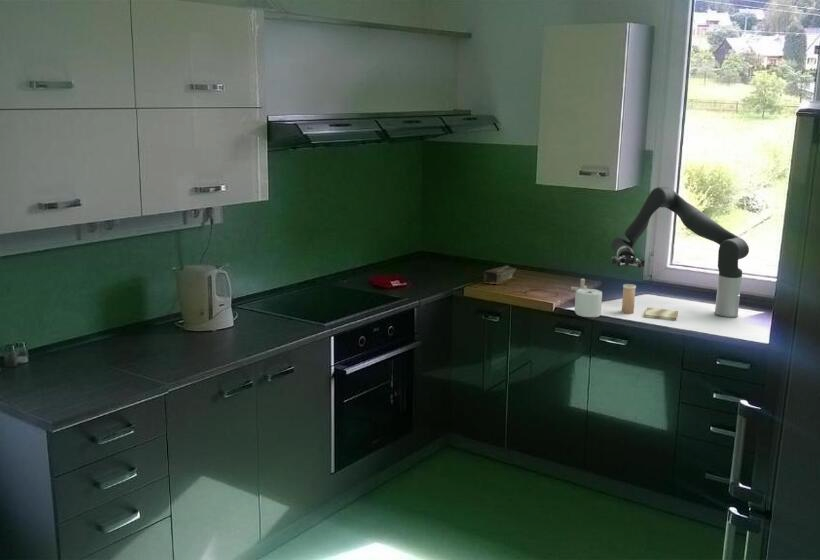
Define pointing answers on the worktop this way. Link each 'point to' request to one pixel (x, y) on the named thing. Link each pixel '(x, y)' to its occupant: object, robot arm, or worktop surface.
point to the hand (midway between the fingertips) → (629, 265)
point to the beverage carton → (499, 274)
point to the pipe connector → (580, 286)
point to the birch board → (661, 313)
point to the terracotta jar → (628, 298)
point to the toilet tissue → (588, 302)
